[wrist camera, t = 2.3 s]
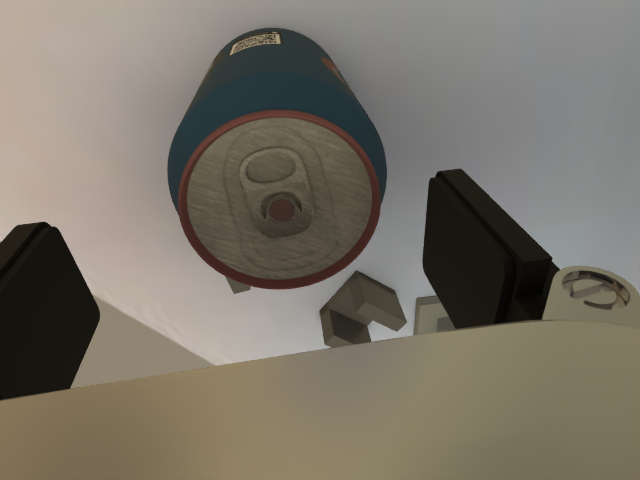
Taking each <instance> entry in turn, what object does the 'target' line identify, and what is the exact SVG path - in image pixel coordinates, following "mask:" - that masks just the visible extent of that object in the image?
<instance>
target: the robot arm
mask: <svg viewBox="0 0 640 480" xmlns="http://www.w3.org/2000/svg"><path fill="white" fill-rule="evenodd" d="M423 269H424V273H425V275H426V277H427V278H428V280H429V282H430V284H431V286H432V287H433V289H434V291H435V293H436V294H437V296H438V298H439V300H440V302H441V303H442V305H443V307H444V309H445V311H446V312H447V314H448V316H449V318H450V320H451V321H452V323H453V325H454V327H455V329H454V330H447V331H440V332H434V333H427V334H420V335H414V336H407V337H401V338H394V339H387V340H381V341H374V342H367V343H361V344H354V345H347V346H341V347H334V348H328V349H322V350H315V351H309V352H302V353H296V354H290V355H283V356H277V357H270V358H264V359H258V360H251V361H245V362H238V363H232V364H225V365H219V366H213V367H207V368H200V369H193V370H187V371H181V372H174V373H168V374H161V375H155V376H148V377H142V378H135V379H129V380H123V381H116V382H110V383H104V384H97V385H91V386H85V387H78V388H72V389H70V387H71V385H72V383H73V380H74V378H75V375H76V373H77V371H78V369H79V366H80V364H81V362H82V360H83V357H84V355H85V353H86V350H87V348H88V346H89V343H90V341H91V339H92V337H93V334H94V332H95V330H96V327H97V325H98V323H99V319H100V312H99V308H98V306H97V303H96V302H95V300H94V298H93V296H92V294H91V292H90V290H89V288H88V286H87V284H86V282H85V280H84V278H83V276H82V274H81V272H80V270H79V268H78V266H77V264H76V262H75V260H74V258H73V256H72V254H71V252H70V250H69V248H68V246H67V244H66V243H65V241H64V239H63V237H62V235H61V233H60V231H59V230H58V229H57V228H56V227H54V226H53V227H51V226H50V225H49V224H48V223H46V222H38V223H31V224H23V225H17V226H16V227H15V228H14V229H13V230H12V231H11V232H10V233H9V234H8V235H7V236H6V238H5V239H4V240H3V241H2V242H1V243H0V480H640V296H639V293H638V292H637V290H636V289H635V288H634V287H633V285H631V284H630V283H629V282H627V281H626V280H625V279H623V278H622V277H620V276H618V275H616V274H614V273H612V272H609V271H606V270H602V269H599V268H594V267H588V266H571V267H567V268H563V269H561V270H560V269H559V268H558V267H557V266H556V265H555V264H554V263H553V262H552V257H551V256H550V255H549V254H548V253H547V252H546V251H545V250H544V249H543V248H542V247H541V246H540V245H539V244H538V243H537V242H536V241H535V240H534V239H533V238H532V237H531V236H530V235H529V234H528V233H527V232H526V231H525V230H524V229H523V228H521V227H520V226H519V225H518V224H517V223H516V222H515V221H514V220H513V219H512V218H511V217H510V216H509V215H508V214H507V213H506V212H505V211H504V210H503V209H502V208H501V207H500V206H499V205H498V204H497V203H496V202H495V201H494V200H493V199H492V198H491V197H490V196H489V195H488V194H487V193H486V192H485V191H484V190H483V189H482V188H481V187H479V186H478V185H477V184H476V183H475V182H474V181H473V180H472V179H471V178H470V177H469V176H468V175H467V174H466V173H465V172H464V171H463V170H462V169H453V170H445V171H438V172H437V174H436V176H435V177H434V178H431V179H430V181H429V188H428V200H427V212H426V224H425V237H424V249H423Z"/></svg>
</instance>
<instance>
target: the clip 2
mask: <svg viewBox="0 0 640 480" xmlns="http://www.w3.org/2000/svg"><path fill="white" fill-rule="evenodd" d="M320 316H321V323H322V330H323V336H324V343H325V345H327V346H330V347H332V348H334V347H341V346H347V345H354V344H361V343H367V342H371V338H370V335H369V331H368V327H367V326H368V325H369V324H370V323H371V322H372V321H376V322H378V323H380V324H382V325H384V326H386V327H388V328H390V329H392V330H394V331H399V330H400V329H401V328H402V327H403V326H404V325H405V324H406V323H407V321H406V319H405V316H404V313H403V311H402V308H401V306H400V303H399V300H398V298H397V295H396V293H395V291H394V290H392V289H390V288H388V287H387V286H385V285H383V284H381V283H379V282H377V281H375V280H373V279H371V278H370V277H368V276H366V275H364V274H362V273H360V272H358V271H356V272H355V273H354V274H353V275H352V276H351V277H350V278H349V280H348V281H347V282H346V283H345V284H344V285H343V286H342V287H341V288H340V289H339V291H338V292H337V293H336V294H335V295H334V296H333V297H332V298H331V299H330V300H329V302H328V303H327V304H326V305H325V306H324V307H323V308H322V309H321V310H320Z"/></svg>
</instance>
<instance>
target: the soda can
mask: <svg viewBox="0 0 640 480" xmlns="http://www.w3.org/2000/svg"><path fill="white" fill-rule="evenodd" d="M386 180H387V168H386V158H385V153H384V148H383V145H382V142H381V139H380V137H379V134H378V132H377V130H376V128H375V126H374V124H373V123H372V121H371V120H370V118H369V117H368V115H367V114H366V112H365V111H364V109H363V107H362V106H361V104H360V103H359V101H358V100H357V98H356V97H355V95H354V94H353V92H352V90H351V89H350V87H349V86H348V84H347V83H346V81H345V80H344V78H343V77H342V75H341V73H340V72H339V70H338V69H337V67H336V66H335V64H334V63H333V61H332V60H331V58H330V57H329V56H328V54H327V53H326V52H325V51H324V50H323V49H322V48H321V47H320V46H319V45H317V44H316V43H315V42H314V41H312V40H311V39H309V38H307V37H305V36H304V35H301V34H299V33H296V32H294V31H290V30H286V29H280V28H264V29H258V30H254V31H250V32H248V33H245V34H243V35H241V36H239V37H237V38H235V39H234V40H232V41H231V42H230V43H229V44H227V45H226V46H225V47H224V48H223V49H222V50H221V51H220V52H219V54H218V55H217V56H216V58H215V59H214V61H213V63H212V64H211V66H210V68H209V70H208V72H207V74H206V76H205V78H204V80H203V81H202V83H201V85H200V87H199V89H198V91H197V93H196V95H195V97H194V99H193V101H192V102H191V104H190V106H189V108H188V110H187V112H186V114H185V116H184V118H183V120H182V121H181V123H180V125H179V127H178V129H177V131H176V134H175V136H174V138H173V141H172V144H171V148H170V152H169V158H168V184H169V189H170V194H171V197H172V201H173V203H174V206H175V209H176V211H177V213H178V215H179V217H180V221H181V224H182V228H183V230H184V233H185V235H186V237H187V239H188V241H189V242H190V244H191V245H192V247H193V248H194V250H195V251H196V252H197V253H198V255H199V256H200V257H201V258H202V259H203V260H204V261H205V262H206V263H207V264H208V265H210V266H211V267H212V268H213V269H215V270H216V271H218V272H219V273H221V274H222V275H224V276H226V277H228V278H230V279H232V280H234V281H237V282H239V283H242V284H245V285H249V286H253V287H258V288H264V289H293V288H299V287H304V286H308V285H312V284H315V283H318V282H320V281H323V280H325V279H327V278H329V277H331V276H333V275H335V274H336V273H338V272H340V271H341V270H343V269H344V268H345V267H347V266H348V265H349V264H350V263H351V262H352V261H354V260H355V259H356V258H357V256H358V255H359V254H360V253H361V252H362V251H363V249H364V248H365V247H366V245H367V244H368V242H369V240H370V239H371V237H372V235H373V233H374V231H375V228H376V226H377V223H378V219H379V214H380V206H381V203H382V200H383V197H384V193H385V188H386Z"/></svg>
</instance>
